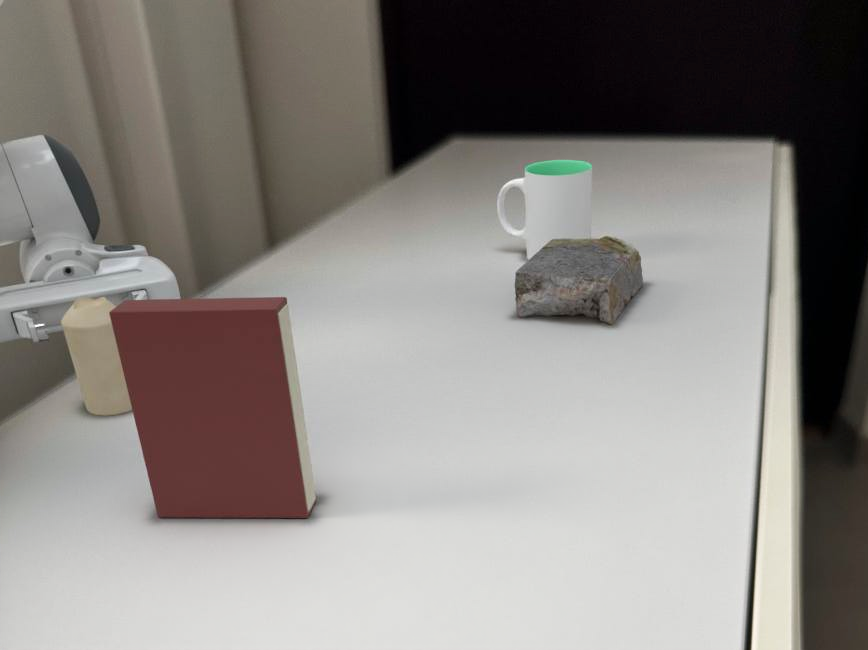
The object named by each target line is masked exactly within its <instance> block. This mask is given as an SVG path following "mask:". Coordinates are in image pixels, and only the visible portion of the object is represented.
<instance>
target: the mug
mask: <svg viewBox="0 0 868 650" xmlns="http://www.w3.org/2000/svg"><path fill="white" fill-rule="evenodd" d="M512 188H519V189H520V190H521V191H522V193H523V196H524V205H525V223H524V226H523V228H522V229H517V228H515V227H513V226H512V225H511V223H510V222H509V220H508V218H507V215H506V210H505V200H506V195H507V193H508V191H509V190H510V189H512ZM592 197H593V165H592V164H591V163H589V162H587V161H582V160H576V159H552V160H544V161H538V162H534V163H531V164H529V165H527V166H525V167H524V177H520V178H515V179H511V180H509V181H507V182H506V183H505V184H503V186H502V187H501V189H500V191H499V193H498V196H497V202H496V211H497V217H498V220H499V224H500V225H501V227H502V228H503V230H504V231H505V232H506V233H508V234H509V235H510V236H511V237H515V238H518V239H523V240H524V241H525V244H526V259H527V261H528V260H529V259H530V258H532V257H533V256H534V255H535V254H536V253H537V252H539V250H540V249H541V248H542V247H544V246H545V245H546V244H547V243H548V242H549V241H550V240H552V239H562V238H573V239H587V238H592V217H593V216H592V214H593V213H592V208H593V204H592V203H593V198H592Z"/></svg>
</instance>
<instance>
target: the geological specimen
mask: <svg viewBox="0 0 868 650" xmlns="http://www.w3.org/2000/svg"><path fill="white" fill-rule="evenodd" d="M643 284H644V277H643V268H642V256H641V254H640V251H639V250H638V249H637V248H636V247H635V246H634V244H632V243H630V242H628V241H625V240H623V239H621V238H618V237H612V236H608V235H605V236H602V237H599V238H598V237H597V238H592V237H591V238H587V239H573V238H562V239H552V240H550V241H549V242H548V243H547V244H546V245H545V246H544V247H542V248H541V249H540V250H539V252H537V253H536V254H535V255H534V256H533V257H532V258H530V259H529V260H528V259H527V261H526V262H525V263H524V264H522V265H521V266H520V267H519V268H518V269H517V270H516V271H515V278H514V290H515V291H514V292H515V299H514V300H515V310H516V313H517V317H519V318H528V317H536V316H545V317H551V316H568V315H569V316H572V317H574V316H578V315H581V314H582V315H584V316H585V317H586V318H590V319H594V318H597V319H599V320H600V322H603V323H606V324H608V325H614V323H615V321H617V319H618V317H619V316H620V315H621V314H622V312H623V310H624V309H625V307H626V306H628V304H629V303H630V301H631V298H634V296H636V294H637V293H638V291H640V289H641V288H642V287H643Z"/></svg>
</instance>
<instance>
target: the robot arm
mask: <svg viewBox="0 0 868 650" xmlns="http://www.w3.org/2000/svg"><path fill="white" fill-rule="evenodd" d="M4 2H5V0H0V8H1V7H2V5H3V4H4ZM94 195H95V194H94V193H93V190H92V188H91V185H90V183H89V181H88V178H87V176H86V174H85V173H84V170H83V168H82V167H81V165H80V163H79V161H78V160H77V158H76V156H75V155H74V154H73V152H72V151H71V150H70V149H69V148H68V147H66V146H65V145H64V144H63V143H61V142H60V141H59V140H57V139H56V138H53V137H52V136H50V135H47V134H44V133H43V134H38V135H34V136H28V137H23V138H19V139H14V140H8V141H4V142H1V143H0V247H3V246H7V245H11V244H15V243H20V245H19V254H18V255H19V256H18V257H19V266H20V271H21V275H22V279H23V280H24V283H18V284H13V285H7V286H1V287H0V344H3V343H7V342H13V341H17V340H24V339H30V340H31V339H32V342H33V343H34V344H35V343H41V342H44V341H49V340H50V338H49V335H51V334H56V333H57V334H58V333H62V332H64V331H63V327H62V324H61V320H62V318H63V317H64V315H65V314H66V312H67V311H68V310H69V309H70V308H71V306H72V305H73V304H74V302H75V301H76V300H77V299H78V298H80V297H88V298H91V299H93V300H97V299H99V298H101V297H105V298H106V299H107V300H108V301H109V302H111V303H112V304H114V305H115V306H116V307H117V306H118V305H119V304H121V303H122V302H123V301H125V300H154V299H182V297H181V294H180V289H179V284H178V280H177V277H176V275H175V274H174V272H173V270H171V268H170V267H169V266H168V265H167V264H165V262H163V261H162V260H161V259H159V258H157V257H154V256H151V255H149V253H148V251H147V248H146V246H144V245H141V244H120V245H119V244H117V245H116V244H115V245H113V244H110V245H109V244H108V245H105V244H96V243H94V242H95V241H96V239H97V236H98V234H99V230H100V226H101V218H100V213H99V209H98V205H97V202H96V199H95V196H94Z"/></svg>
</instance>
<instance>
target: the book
mask: <svg viewBox="0 0 868 650" xmlns="http://www.w3.org/2000/svg"><path fill="white" fill-rule="evenodd" d="M109 314H110V318H111V322H112V327H113V331H114V335H115V339H116V343H117V348H118V352H119V356H120V360H121V364H122V369H123V373H124V377H125V381H126V385H127V389H128V394H129V398H130V402H131V406H132V410H131V411H132V414H133V418H134V423H135V427H136V430H137V435H138V440H139V443H140V448H141V452H142V456H143V461H144V465H145V469H146V473H147V477H148V482H149V485H150V489H151V494H152V498H153V502H154V507H155V511H156V515H157V517H158V518H206V519H207V518H211V519H212V518H215V519H217V518H218V519H219V518H220V519H221V518H223V519H225V518H228V519H229V518H231V519H232V518H233V519H234V518H235V519H236V518H237V519H242V518H243V519H246V518H247V519H253V518H254V519H259V518H260V519H308V518H309V515H310V514H311V511H313V510H312V509H313V508H314V506H315V504H316V502H317V496H316V488H315V482H314V474H313V469H312V467H313V466H312V461H311V454H310V447H309V440H308V432H307V426H306V419H305V412H304V406H303V399H302V390H301V383H300V378H299V372H298V364H297V357H296V351H295V342H294V336H293V330H292V324H291V317H290V316H291V315H290V309H289V304H288V298H287V297H286V296H270V297H269V296H267V297H265V296H264V297H218V298H217V297H214V298H210V297H209V298H181V299H154V300H125V301H123V302H122V303H121V304H119V305H118V306H117V307H115V308H114V309H113V310H111V311H110V312H109Z"/></svg>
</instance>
